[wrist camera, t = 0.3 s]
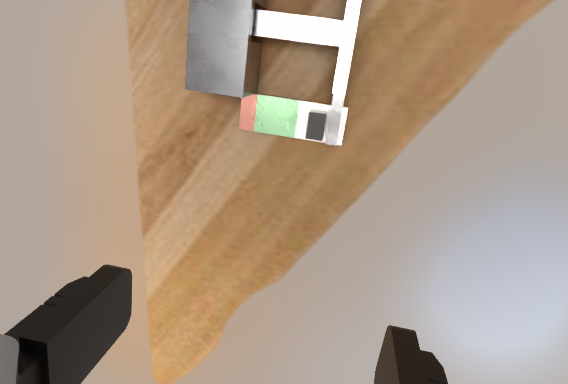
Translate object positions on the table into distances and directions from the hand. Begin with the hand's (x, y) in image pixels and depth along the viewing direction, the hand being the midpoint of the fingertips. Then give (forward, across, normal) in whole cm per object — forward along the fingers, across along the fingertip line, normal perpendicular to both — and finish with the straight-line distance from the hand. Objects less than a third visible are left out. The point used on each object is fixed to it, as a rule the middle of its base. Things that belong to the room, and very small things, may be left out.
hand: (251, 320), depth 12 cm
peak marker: (+28, 0, -2) cm, 28 cm away
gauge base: (+29, +5, -8) cm, 30 cm away
